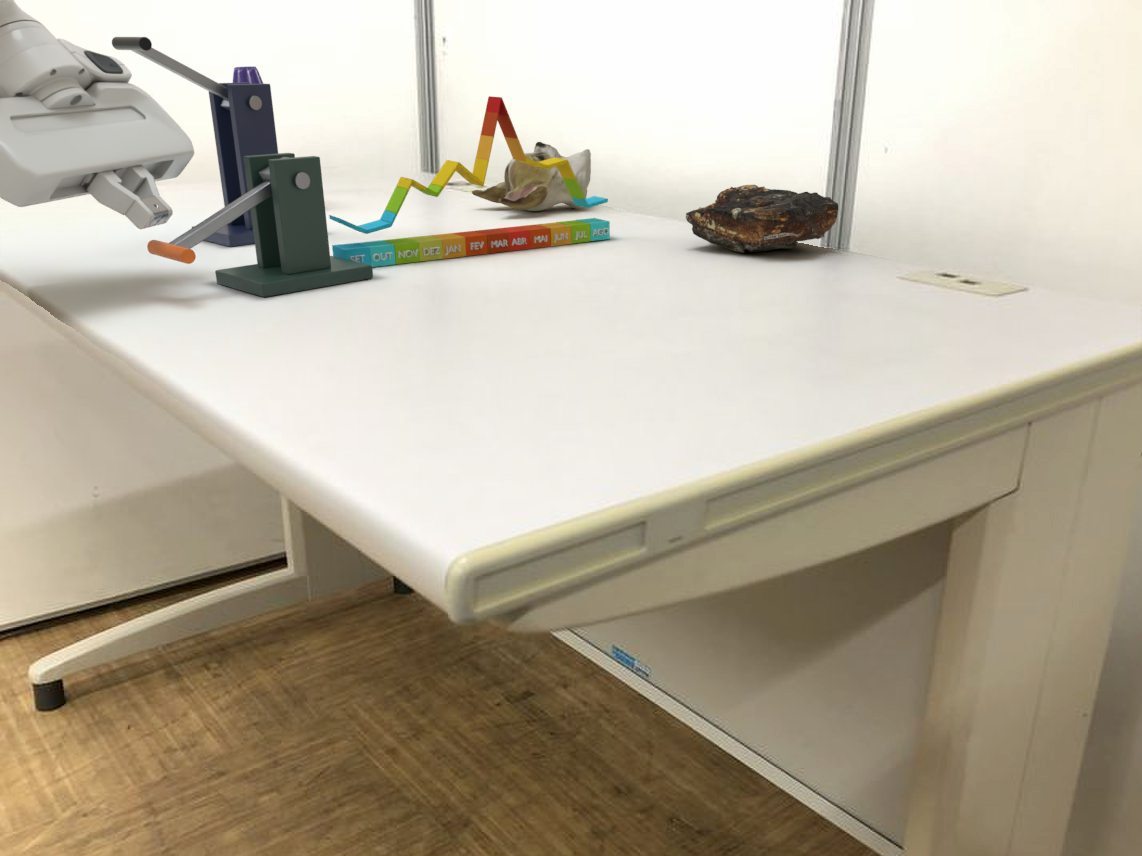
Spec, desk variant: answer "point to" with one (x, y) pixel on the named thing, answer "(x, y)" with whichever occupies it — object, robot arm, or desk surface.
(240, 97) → the back bracket
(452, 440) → the desk surface
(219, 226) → the front lever
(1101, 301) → the desk surface
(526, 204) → the ceramic sculpture
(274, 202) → the front bracket
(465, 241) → the chart
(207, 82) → the back lever
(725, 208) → the fossil rock
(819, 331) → the desk surface
